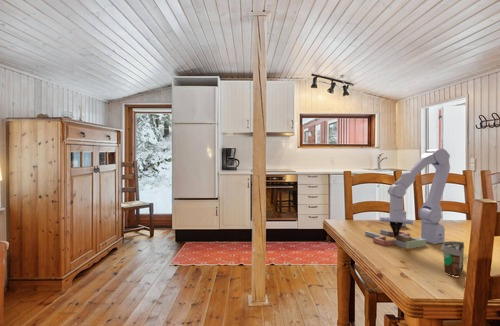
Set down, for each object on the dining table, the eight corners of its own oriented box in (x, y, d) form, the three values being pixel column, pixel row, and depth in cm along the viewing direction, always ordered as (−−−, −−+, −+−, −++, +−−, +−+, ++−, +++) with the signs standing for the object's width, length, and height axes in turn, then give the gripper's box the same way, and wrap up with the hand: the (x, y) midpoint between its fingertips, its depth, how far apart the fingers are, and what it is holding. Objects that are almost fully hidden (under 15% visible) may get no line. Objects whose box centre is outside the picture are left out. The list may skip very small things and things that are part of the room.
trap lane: (434, 244, 149) (434, 238, 149) (398, 250, 140) (398, 243, 140) (389, 231, 173) (389, 226, 173) (356, 236, 164) (356, 230, 164)
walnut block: (411, 243, 152) (411, 236, 151) (404, 244, 149) (404, 238, 149) (402, 240, 155) (402, 234, 155) (395, 242, 153) (395, 236, 153)
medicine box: (403, 225, 190) (403, 210, 190) (406, 226, 186) (406, 211, 185) (389, 224, 191) (389, 210, 190) (391, 226, 186) (391, 211, 186)
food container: (444, 265, 121) (444, 239, 121) (463, 269, 118) (464, 241, 117) (437, 275, 112) (438, 246, 112) (458, 279, 108) (459, 249, 108)
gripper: (413, 209, 155) (413, 237, 156) (381, 207, 162) (381, 234, 163) (413, 212, 149) (412, 241, 149) (379, 209, 156) (379, 237, 156)
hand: (396, 238), depth 156 cm, fingers closed
